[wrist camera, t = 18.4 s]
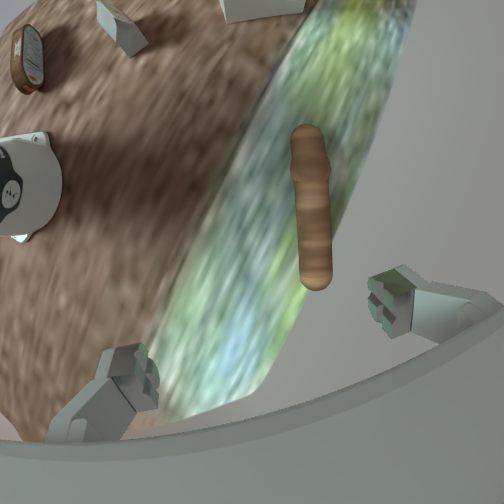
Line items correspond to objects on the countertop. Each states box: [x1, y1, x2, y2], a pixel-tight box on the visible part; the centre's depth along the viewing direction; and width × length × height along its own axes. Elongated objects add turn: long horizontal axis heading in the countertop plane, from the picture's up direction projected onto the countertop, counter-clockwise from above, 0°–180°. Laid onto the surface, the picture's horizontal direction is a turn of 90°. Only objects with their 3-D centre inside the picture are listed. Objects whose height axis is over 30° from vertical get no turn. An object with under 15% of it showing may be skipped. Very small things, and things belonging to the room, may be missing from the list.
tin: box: [10, 24, 44, 95], centre depth 33 cm, size 15×3×8 cm, turn 17°
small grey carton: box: [96, 0, 149, 58], centre depth 33 cm, size 4×7×10 cm, turn 38°
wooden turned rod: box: [290, 124, 333, 291], centre depth 39 cm, size 22×5×5 cm, turn 4°
